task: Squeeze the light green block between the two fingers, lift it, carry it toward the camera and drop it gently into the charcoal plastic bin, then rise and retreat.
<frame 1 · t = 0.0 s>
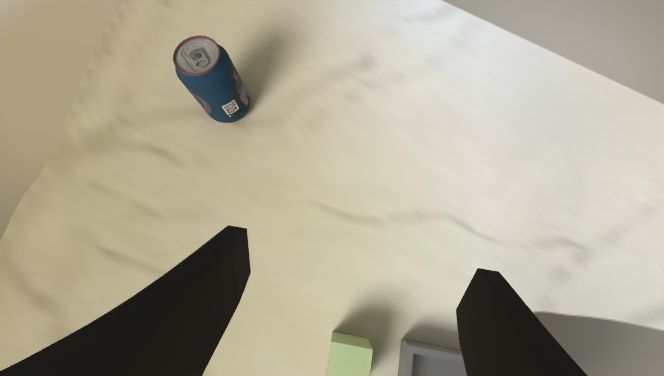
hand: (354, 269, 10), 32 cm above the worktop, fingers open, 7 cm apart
light green block: (347, 354, 38), on the worktop
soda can: (231, 107, 48), on the worktop
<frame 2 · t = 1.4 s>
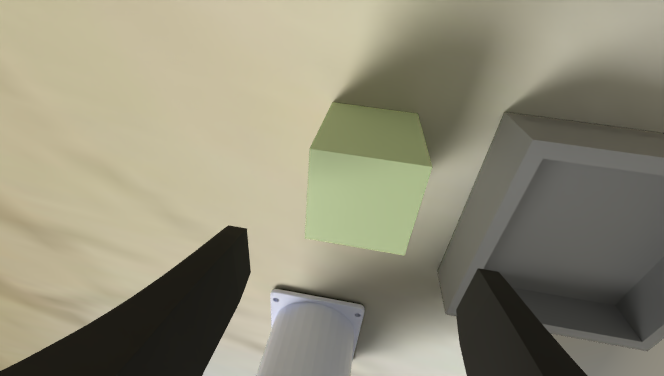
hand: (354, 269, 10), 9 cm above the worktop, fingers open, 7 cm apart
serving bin: (566, 221, 18), on the worktop
light green block: (368, 146, 17), on the worktop
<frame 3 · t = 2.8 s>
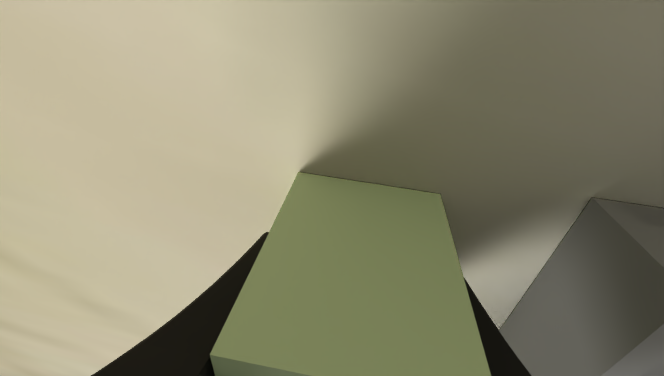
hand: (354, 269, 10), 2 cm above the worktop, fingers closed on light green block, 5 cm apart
light green block: (358, 235, 11), on the worktop, touching gripper
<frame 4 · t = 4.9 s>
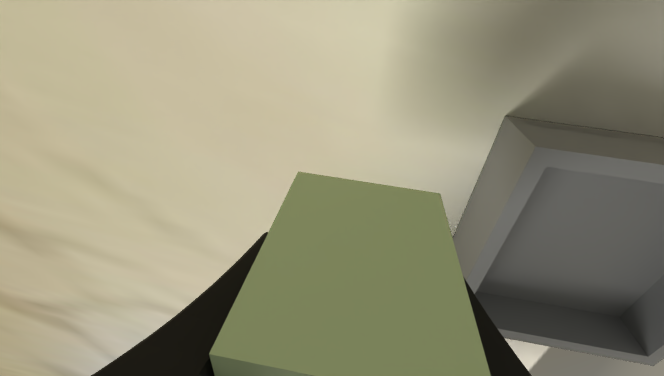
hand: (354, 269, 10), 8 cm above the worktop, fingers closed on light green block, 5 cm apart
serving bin: (569, 230, 17), on the worktop
light green block: (358, 235, 11), point 7 cm above the worktop, touching gripper
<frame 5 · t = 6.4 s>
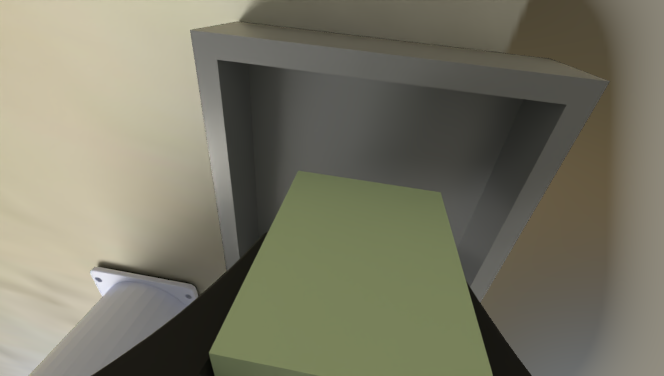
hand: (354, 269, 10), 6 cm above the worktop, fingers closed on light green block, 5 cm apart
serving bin: (364, 173, 15), on the worktop
light green block: (358, 234, 11), point 5 cm above the worktop, touching gripper
when the fingers open (4 cm above the worktop, at t = 7.3 s): light green block drops 2 cm, resting on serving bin.
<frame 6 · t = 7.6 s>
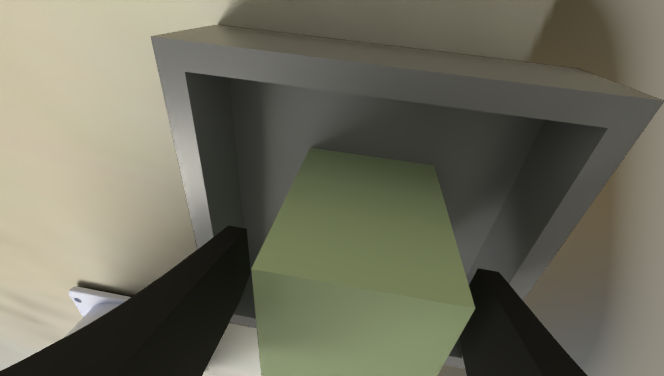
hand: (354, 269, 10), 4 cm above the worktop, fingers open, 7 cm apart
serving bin: (362, 193, 13), on the worktop
light green block: (362, 205, 12), point 1 cm above the worktop, touching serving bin
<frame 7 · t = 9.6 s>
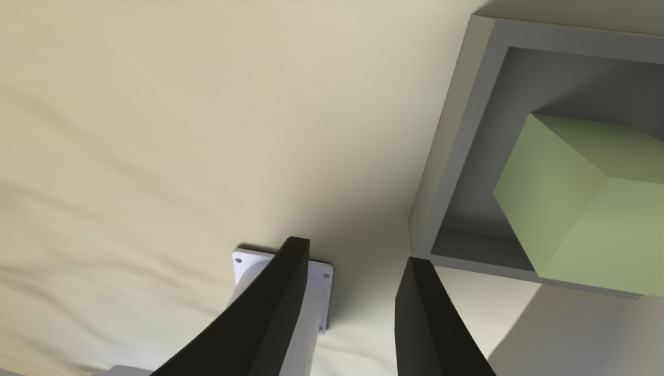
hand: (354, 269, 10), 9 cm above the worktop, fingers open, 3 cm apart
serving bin: (546, 155, 16), on the worktop
light green block: (556, 162, 15), point 1 cm above the worktop, touching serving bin
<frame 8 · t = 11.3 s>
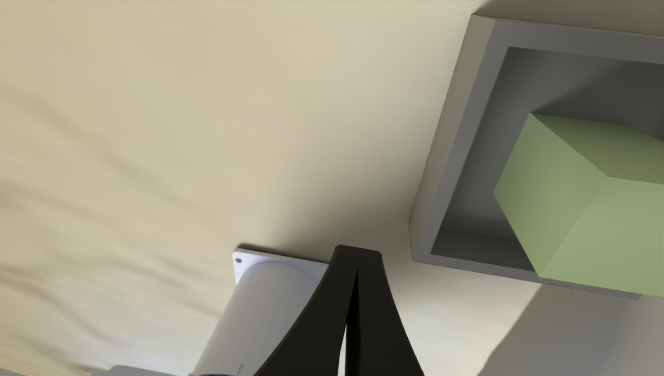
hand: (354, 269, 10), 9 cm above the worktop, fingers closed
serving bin: (546, 155, 16), on the worktop
light green block: (556, 162, 15), point 1 cm above the worktop, touching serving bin
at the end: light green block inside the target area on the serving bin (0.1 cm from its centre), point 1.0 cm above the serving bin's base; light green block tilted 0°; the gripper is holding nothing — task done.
